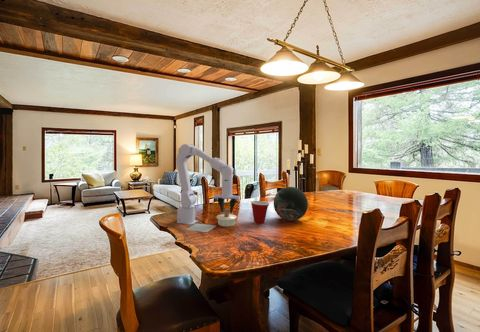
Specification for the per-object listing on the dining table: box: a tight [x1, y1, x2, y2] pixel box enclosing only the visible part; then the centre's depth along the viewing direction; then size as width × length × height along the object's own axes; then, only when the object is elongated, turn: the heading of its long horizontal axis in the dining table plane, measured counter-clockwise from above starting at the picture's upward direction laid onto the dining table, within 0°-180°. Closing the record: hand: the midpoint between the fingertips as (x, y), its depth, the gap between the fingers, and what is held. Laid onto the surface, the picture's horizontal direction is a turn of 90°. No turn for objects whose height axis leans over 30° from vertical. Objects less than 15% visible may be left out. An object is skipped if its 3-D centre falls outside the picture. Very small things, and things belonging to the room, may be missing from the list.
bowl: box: [217, 219, 236, 227], centre depth 146 cm, size 9×9×4 cm
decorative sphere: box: [273, 186, 309, 222], centre depth 157 cm, size 20×20×20 cm
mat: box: [185, 223, 217, 233], centre depth 139 cm, size 12×12×1 cm
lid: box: [216, 208, 238, 221], centre depth 146 cm, size 11×11×5 cm
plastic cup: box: [250, 200, 270, 225], centre depth 151 cm, size 11×11×12 cm
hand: (226, 212), depth 146 cm, fingers open, 5 cm apart
